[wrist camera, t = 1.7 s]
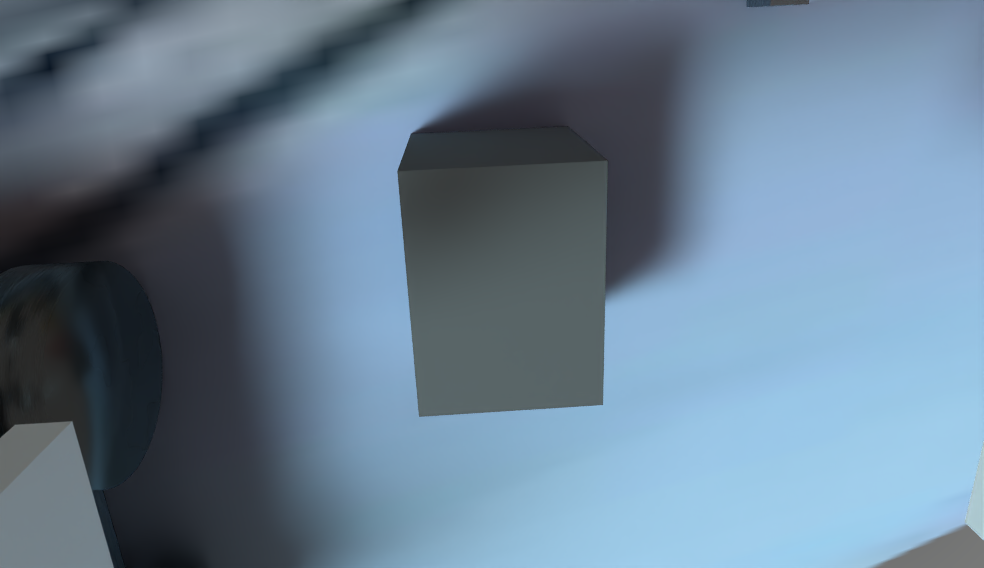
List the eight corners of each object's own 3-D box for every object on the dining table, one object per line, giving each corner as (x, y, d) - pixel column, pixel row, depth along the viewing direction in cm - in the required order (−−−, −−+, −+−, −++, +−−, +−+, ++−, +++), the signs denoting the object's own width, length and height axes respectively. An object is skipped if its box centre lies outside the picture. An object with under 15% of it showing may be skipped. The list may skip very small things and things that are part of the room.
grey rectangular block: (411, 133, 20) (397, 171, 15) (567, 125, 20) (607, 160, 15) (426, 324, 22) (419, 416, 17) (567, 316, 22) (602, 404, 17)
